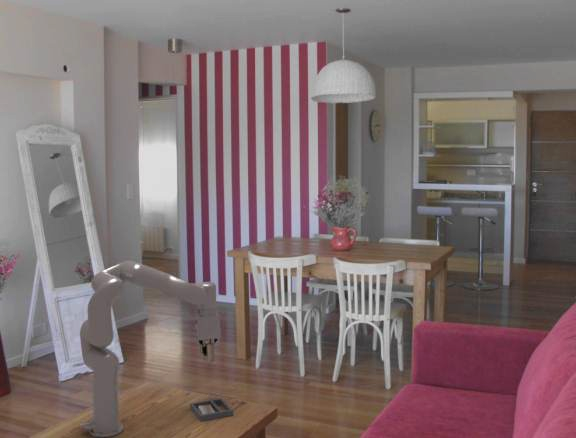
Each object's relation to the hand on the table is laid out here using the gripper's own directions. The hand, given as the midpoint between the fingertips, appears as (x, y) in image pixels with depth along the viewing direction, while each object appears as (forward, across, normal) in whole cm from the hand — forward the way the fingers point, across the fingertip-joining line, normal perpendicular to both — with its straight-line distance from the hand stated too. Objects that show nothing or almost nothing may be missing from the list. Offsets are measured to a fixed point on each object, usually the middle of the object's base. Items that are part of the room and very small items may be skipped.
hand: (207, 354), depth 276 cm
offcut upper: (+20, -5, -12) cm, 24 cm away
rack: (+21, -2, -12) cm, 24 cm away
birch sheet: (0, 0, +7) cm, 7 cm away
